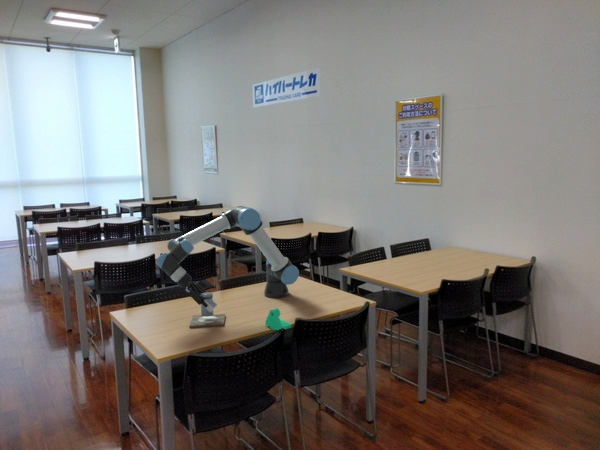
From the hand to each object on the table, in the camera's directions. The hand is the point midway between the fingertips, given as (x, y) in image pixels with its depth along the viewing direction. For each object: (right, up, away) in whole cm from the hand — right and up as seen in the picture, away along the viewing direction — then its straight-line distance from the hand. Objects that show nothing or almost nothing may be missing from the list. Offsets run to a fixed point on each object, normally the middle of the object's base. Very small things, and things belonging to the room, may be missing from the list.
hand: (213, 308), depth 237 cm
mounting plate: (-3, -7, +1) cm, 8 cm away
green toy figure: (+34, -9, -8) cm, 36 cm away
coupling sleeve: (-4, -3, +1) cm, 5 cm away
